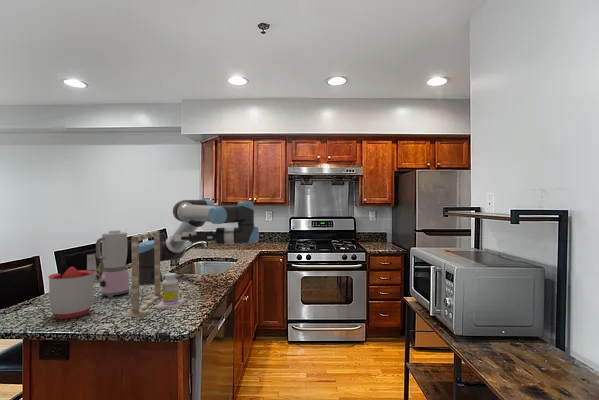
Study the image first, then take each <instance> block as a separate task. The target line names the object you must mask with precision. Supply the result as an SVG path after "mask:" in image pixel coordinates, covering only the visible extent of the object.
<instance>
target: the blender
mask: <svg viewBox="0 0 599 400" xmlns="http://www.w3.org/2000/svg"><path fill="white" fill-rule="evenodd" d="M95 253H96V257H97V258H98V259H103V263H104V271H103V273H102V276H101V281H99V285H100V287H101V290H100V291H101V297H103V296H106V297H107V299H113V297H114V296H117V295H118V296H119V295H122V294H126V293H127V294H130V288H129V287H130V286H129V285H130V284H129V282H130V281H129V280H130V274H129V271H128V269H127V267H126V266H127V265H126V264H127V258H128V233H127V232H122V231H121V230H120V229H119V230H118V229H116V230H108V232H106V233H102V235H101V237H100V238H98V239H97V240H96V242H95ZM100 253H102V256H100Z"/></svg>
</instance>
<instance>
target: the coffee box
mask: <svg viewBox="0 0 599 400" xmlns="http://www.w3.org/2000/svg"><path fill="white" fill-rule="evenodd" d="M100 256H102V252H100ZM86 257H87V258H86V270H90V271H94V273H93V283H98V282H99V283H100V282H101V276H102V273H103V271H104V263H103V259H98V258H97V257H96V252H94V253H90V254H86Z"/></svg>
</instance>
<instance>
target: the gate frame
mask: <svg viewBox="0 0 599 400" xmlns="http://www.w3.org/2000/svg"><path fill="white" fill-rule="evenodd" d="M160 232H161V231H160V230H153V231H150V232H146V233H145V232H144V233H142V234H138V235H134V236H130V237H131V310H126V311H125V312H123V313H122V314H121V316H122V318H123V317H124V318H126V317H127V318H128V317H129V318H130V317H146V316H147V315H149V314H150V310H146V309H147V308H148V307H150V306H151V305H153V304H154V302H156V301H157V300H158V299H163V293H162V291H161V281H160V271H161V262H160V242H161V233H160ZM151 238H153V240H154V262H155V283H154V294H153V293H150V294H148V295H147V296H146V299H147V300H148V299H149V300H148V301H146V302H144V304H142V305H141V306H140V284H139V242H140V241H144V240H146V239H151Z"/></svg>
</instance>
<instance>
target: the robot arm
mask: <svg viewBox="0 0 599 400" xmlns="http://www.w3.org/2000/svg"><path fill="white" fill-rule="evenodd" d="M254 205H255V204H254V202H252V201H238V202H237V205H231V206H227V205H226V206H224V205H223V206H221V205H218V206H217V205H215V204H214V203H213V201H212V200H210V199H204V198H203V199H182V200H180V201H178V202H177V203H175V204H174V205H173V207H172V215H173V218H175V219H176V220H177V221H179V222H181V224H180V225H179V226H178V228H177V229H176V230H175V232H174V233H173V235H170V236H169V237H167V238H166V239H165V241H160V263H163V262H166V261H167V262H168V261H176V260H179V259H183V257H184V256H185V254H186V252H187V251H186V250H187V249H186V248H187V247H186V243H187V242H198V241H199V242H201V241H209V242H210V241H214V240H215V243H216V244H217V245H223V244H228V245H229V244H230V246H233V244H255V243H256V244H257V243H258V242H259V238H260V237H259V236H260V235H259V227H257V226H255V206H254ZM206 222H208V223H211V224H213V225H222V224H235V223H237V227H236V226H235V227H234V226H232V227H229V226H227V227H217V228H215V231H213V230H212V231H196V230H198V229H199V228H200V227H201V228H202V227H203V226H204V224H205V223H206ZM160 282H163V275H162V271H161V270H160ZM151 284H155V262H154V239H152V240H146V241H142V242H140V243H139V285H151Z"/></svg>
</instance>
